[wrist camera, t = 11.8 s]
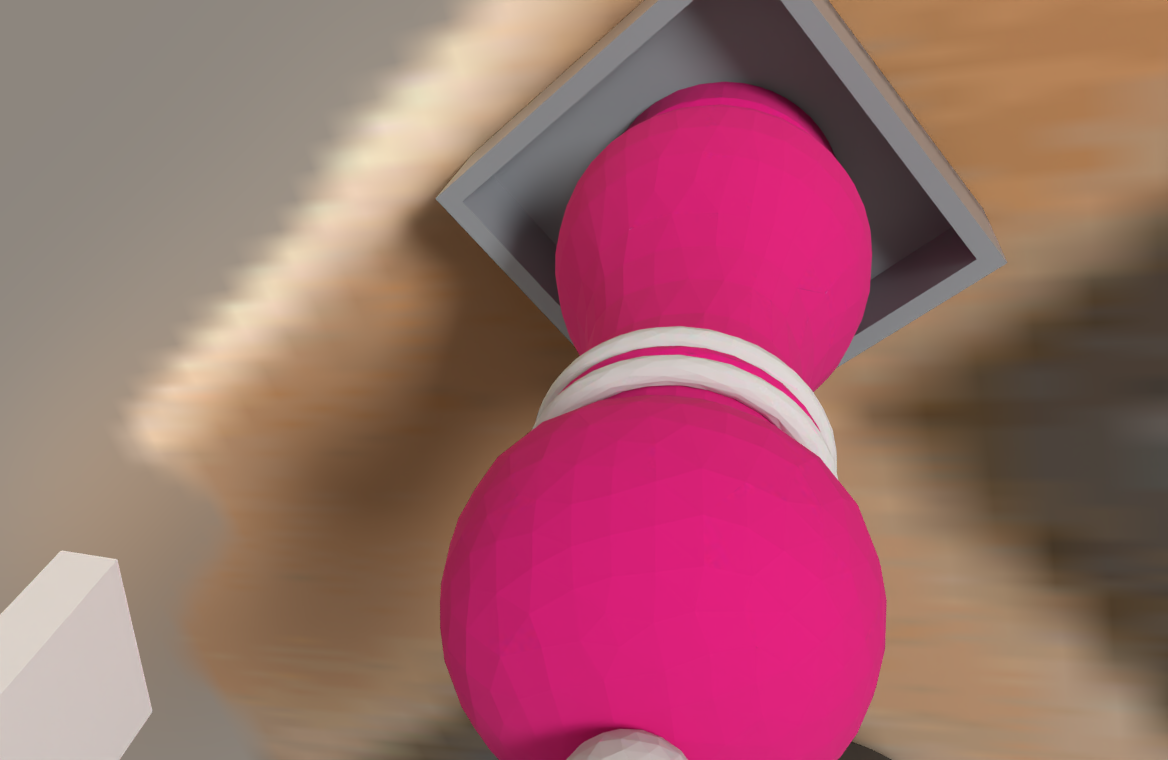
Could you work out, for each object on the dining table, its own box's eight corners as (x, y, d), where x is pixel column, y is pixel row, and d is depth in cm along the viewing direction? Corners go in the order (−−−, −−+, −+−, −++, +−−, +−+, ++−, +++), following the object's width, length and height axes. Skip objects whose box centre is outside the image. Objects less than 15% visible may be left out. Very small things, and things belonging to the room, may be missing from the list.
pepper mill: (874, 298, 28) (1005, 1096, 11) (620, 332, 30) (405, 1059, 13) (844, 33, 25) (967, 601, 8) (560, 90, 27) (168, 647, 10)
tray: (692, 397, 32) (683, 461, 29) (471, 155, 29) (435, 198, 26) (983, 209, 27) (1007, 262, 24) (754, -99, 25) (750, -82, 22)
